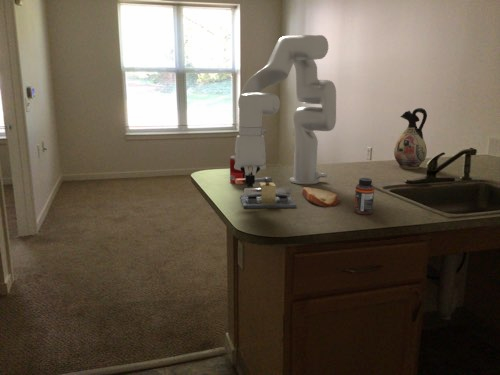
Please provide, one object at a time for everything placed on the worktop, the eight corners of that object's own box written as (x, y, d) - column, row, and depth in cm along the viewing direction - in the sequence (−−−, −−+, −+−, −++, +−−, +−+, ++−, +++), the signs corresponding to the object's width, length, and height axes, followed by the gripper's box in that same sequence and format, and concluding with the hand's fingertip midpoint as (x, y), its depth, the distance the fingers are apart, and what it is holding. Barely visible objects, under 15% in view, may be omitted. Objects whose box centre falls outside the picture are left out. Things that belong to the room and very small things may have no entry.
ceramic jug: (388, 168, 223) (393, 107, 216) (397, 163, 235) (403, 106, 228) (423, 172, 214) (430, 109, 207) (431, 167, 226) (438, 107, 219)
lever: (270, 180, 158) (270, 176, 157) (273, 182, 155) (273, 178, 154) (234, 182, 153) (234, 178, 153) (237, 184, 151) (237, 180, 150)
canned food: (246, 184, 183) (247, 158, 181) (227, 183, 185) (228, 157, 182) (250, 181, 190) (250, 155, 188) (232, 179, 192) (232, 154, 189)
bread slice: (305, 191, 176) (306, 182, 175) (349, 198, 166) (350, 188, 165) (284, 201, 161) (284, 191, 160) (331, 209, 151) (331, 198, 151)
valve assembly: (288, 196, 165) (288, 176, 163) (296, 207, 152) (297, 185, 150) (239, 197, 163) (240, 177, 161) (243, 208, 150) (243, 186, 148)
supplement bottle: (351, 209, 150) (353, 177, 147) (368, 209, 150) (371, 176, 148) (357, 215, 144) (359, 181, 141) (374, 214, 145) (377, 181, 142)
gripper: (270, 130, 151) (269, 183, 155) (226, 130, 149) (227, 184, 153) (274, 133, 144) (273, 188, 148) (228, 133, 142) (228, 189, 146)
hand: (249, 186), depth 151 cm, fingers closed
